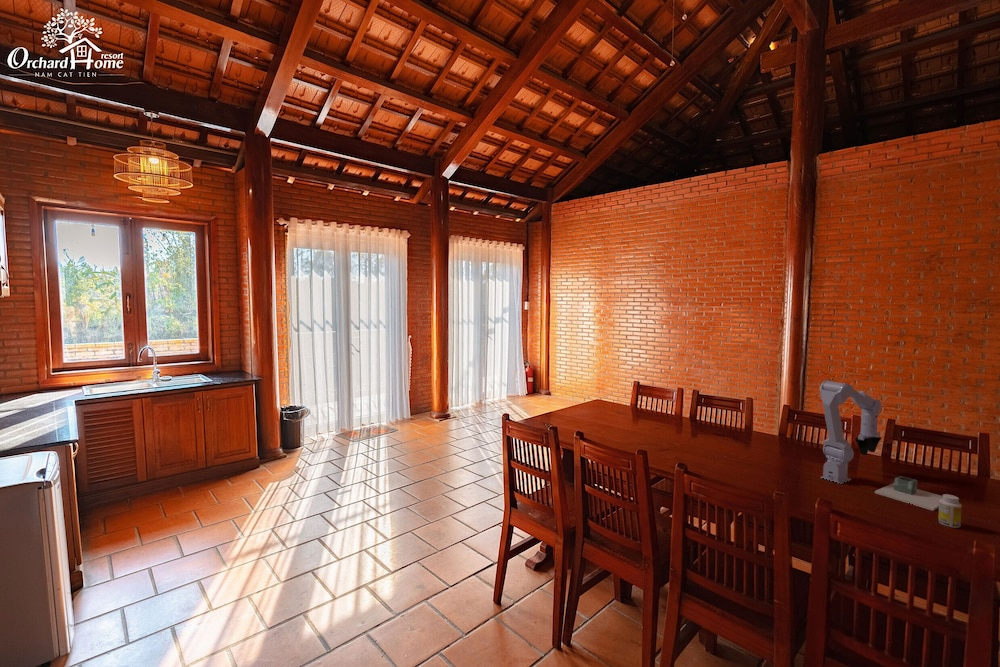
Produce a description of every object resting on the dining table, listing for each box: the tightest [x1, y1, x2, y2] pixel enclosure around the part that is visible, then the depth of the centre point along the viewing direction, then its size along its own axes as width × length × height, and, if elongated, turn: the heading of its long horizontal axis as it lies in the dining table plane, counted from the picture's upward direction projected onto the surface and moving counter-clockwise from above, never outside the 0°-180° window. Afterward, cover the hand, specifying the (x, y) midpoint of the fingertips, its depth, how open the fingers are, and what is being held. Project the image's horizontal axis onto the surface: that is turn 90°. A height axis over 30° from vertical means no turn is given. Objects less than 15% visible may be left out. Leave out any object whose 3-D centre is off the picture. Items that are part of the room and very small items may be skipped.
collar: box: [893, 475, 918, 495], centre depth 182 cm, size 5×5×5 cm
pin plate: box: [874, 482, 943, 511], centre depth 178 cm, size 18×18×5 cm
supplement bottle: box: [938, 493, 963, 529], centre depth 155 cm, size 6×6×10 cm
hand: (867, 453), depth 203 cm, fingers open, 7 cm apart
